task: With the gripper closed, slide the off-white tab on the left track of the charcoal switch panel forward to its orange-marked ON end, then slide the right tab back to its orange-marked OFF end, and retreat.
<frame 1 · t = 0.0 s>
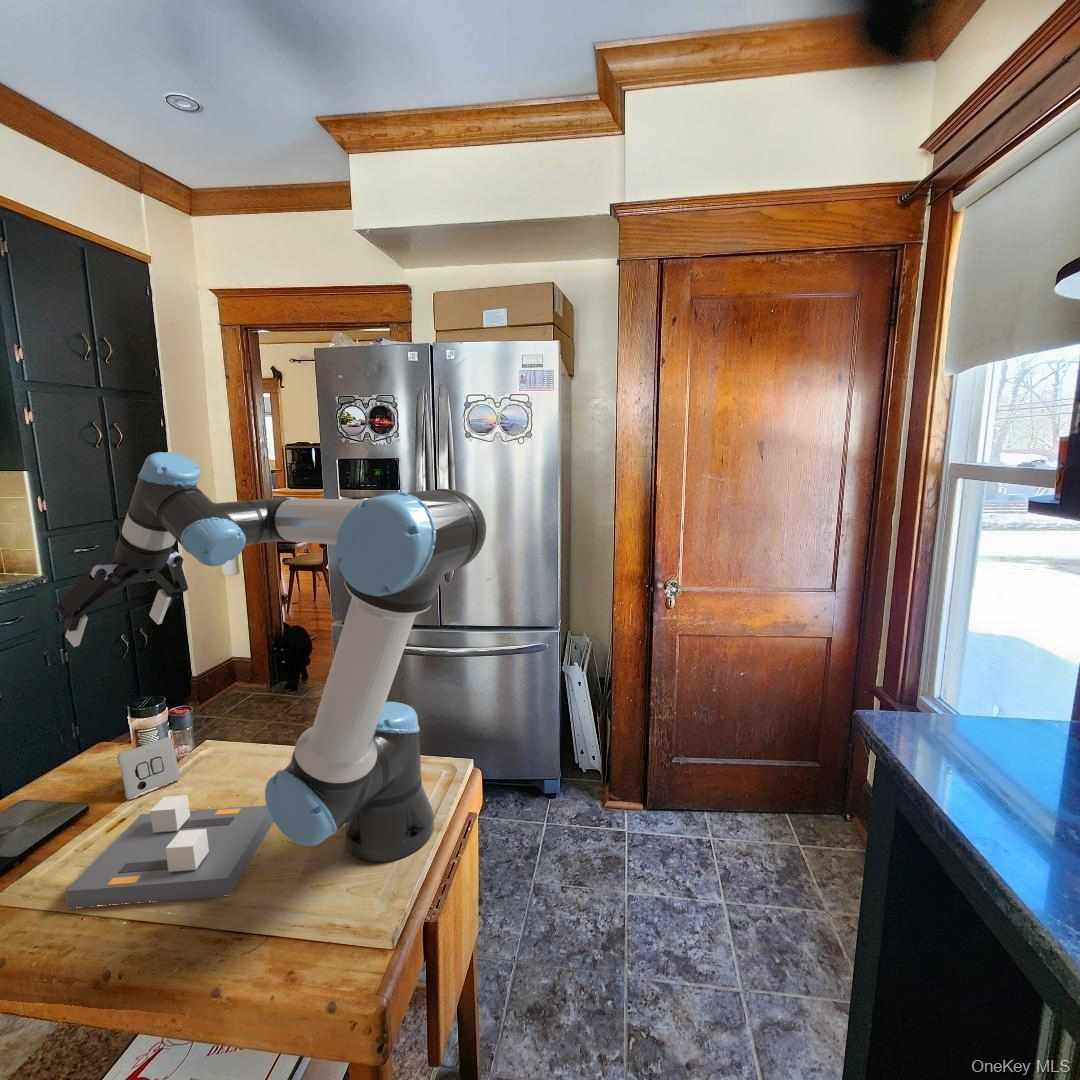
hand: (116, 629, 100), 36 cm above the table, tool tilted 35°, fingers open, 13 cm apart
tab right: (170, 813, 96), point 5 cm above the table, slide at 8.0 cm
electrical switch: (149, 788, 113), on the table
tab left: (187, 849, 87), point 5 cm above the table, slide at 0.0 cm
switch panel: (182, 859, 92), on the table
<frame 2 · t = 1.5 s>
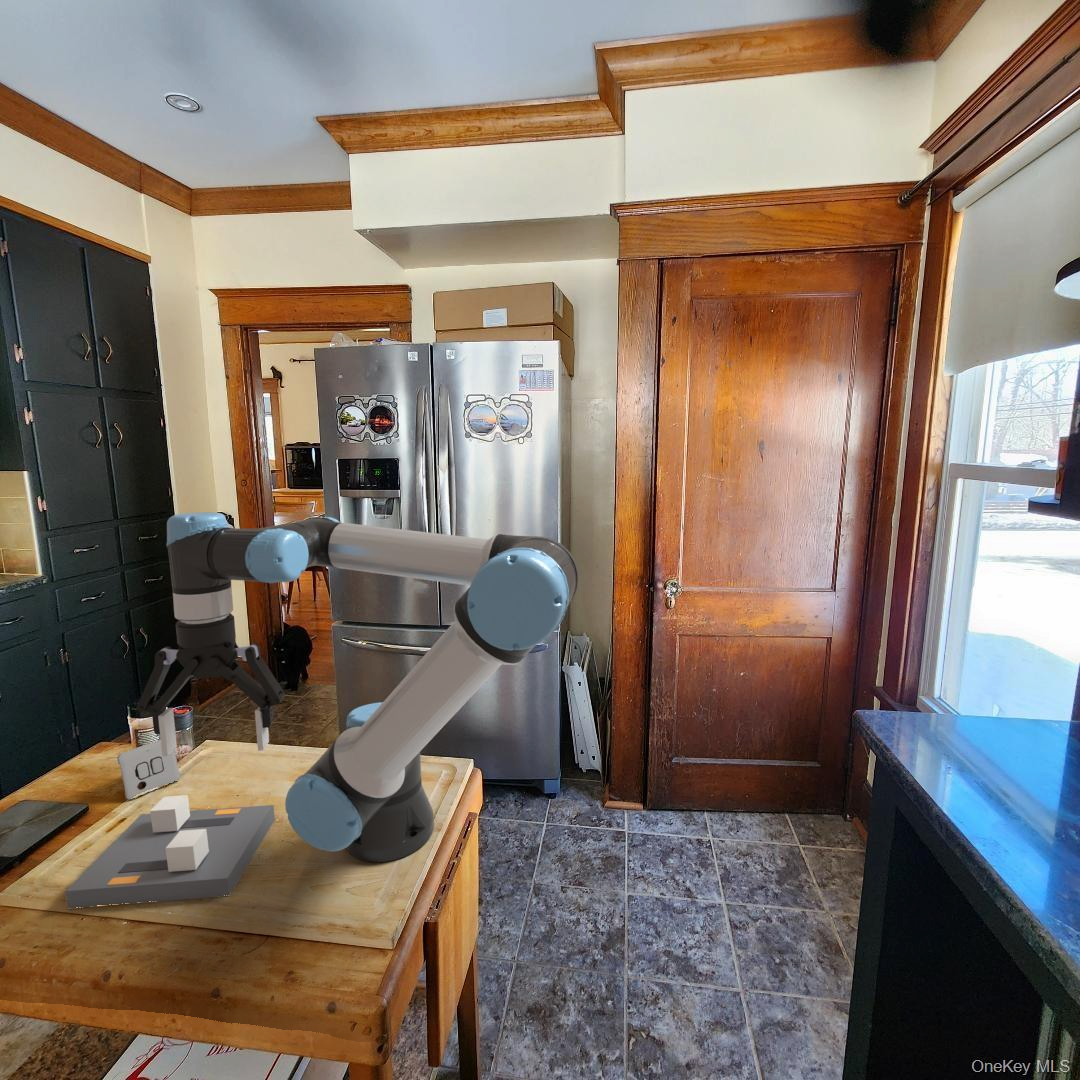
hand: (217, 749, 86), 21 cm above the table, tool pointing down, fingers open, 13 cm apart
nothing on the table moved.
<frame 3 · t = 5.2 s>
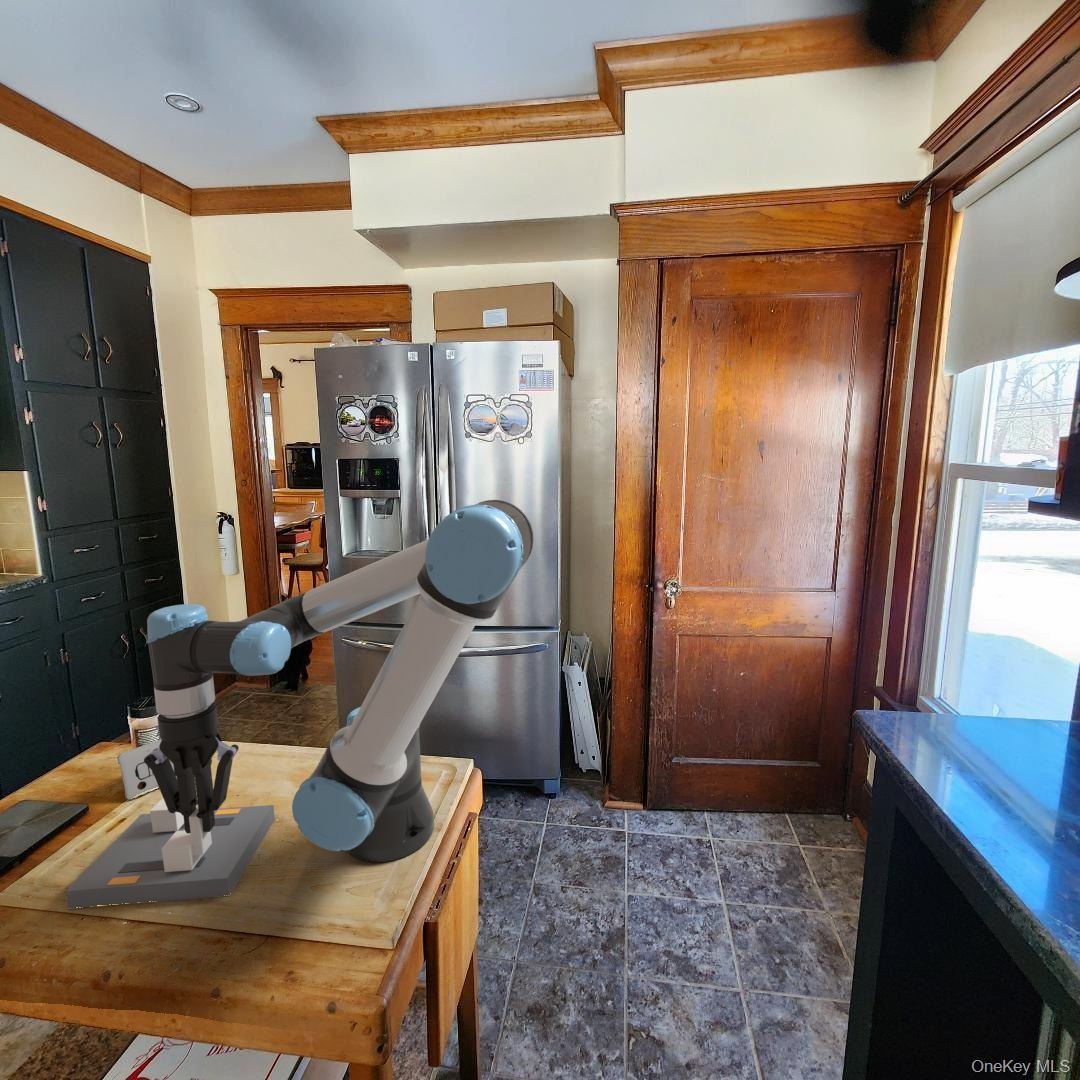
hand: (202, 849, 87), 5 cm above the table, tool pointing down, fingers closed
tab left: (184, 850, 87), point 5 cm above the table, slide at 0.6 cm, touching gripper
everything else where it was.
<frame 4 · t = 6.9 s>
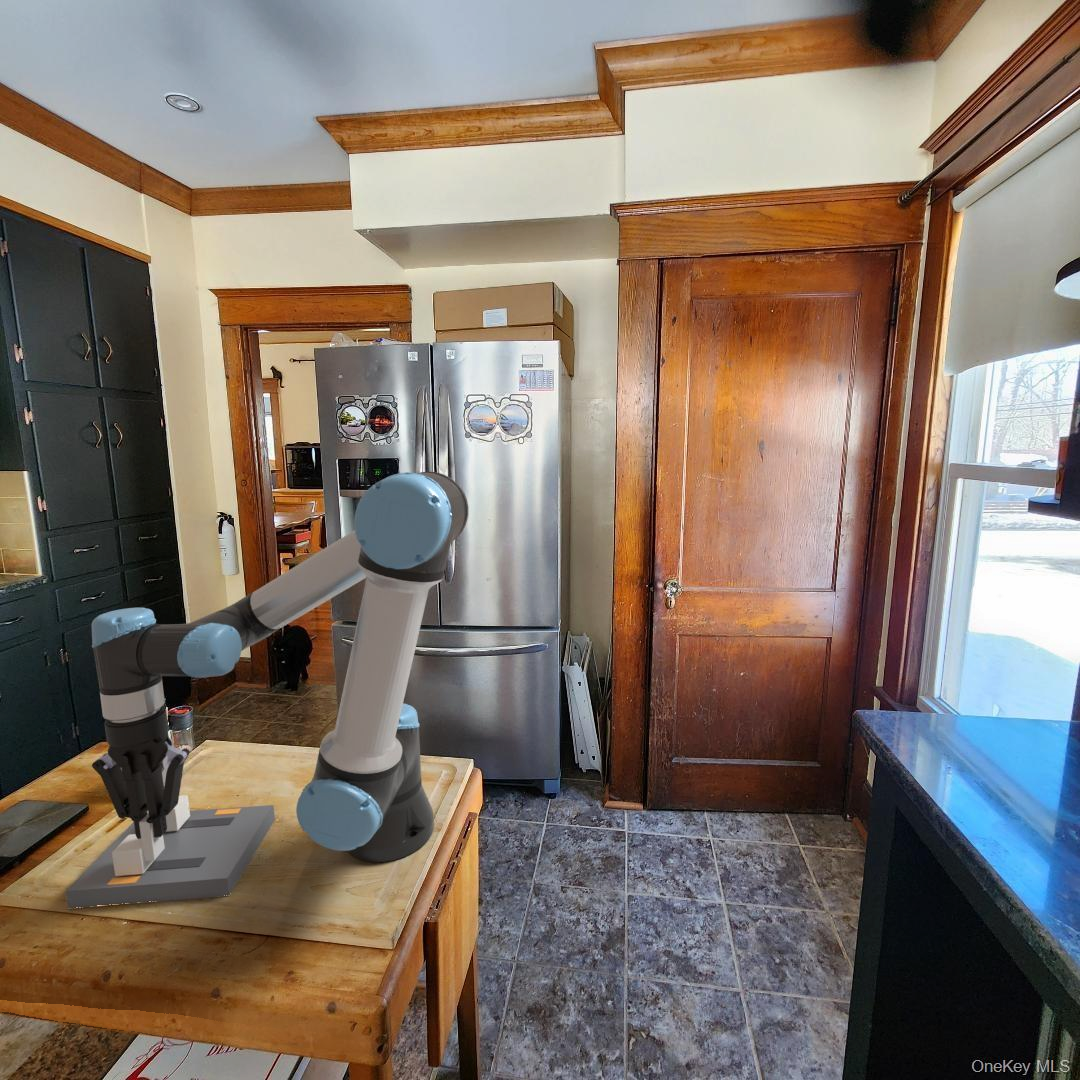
hand: (154, 854, 86), 5 cm above the table, tool pointing down, fingers closed
tab left: (135, 853, 86), point 5 cm above the table, slide at 7.7 cm, touching gripper
everything else where it was.
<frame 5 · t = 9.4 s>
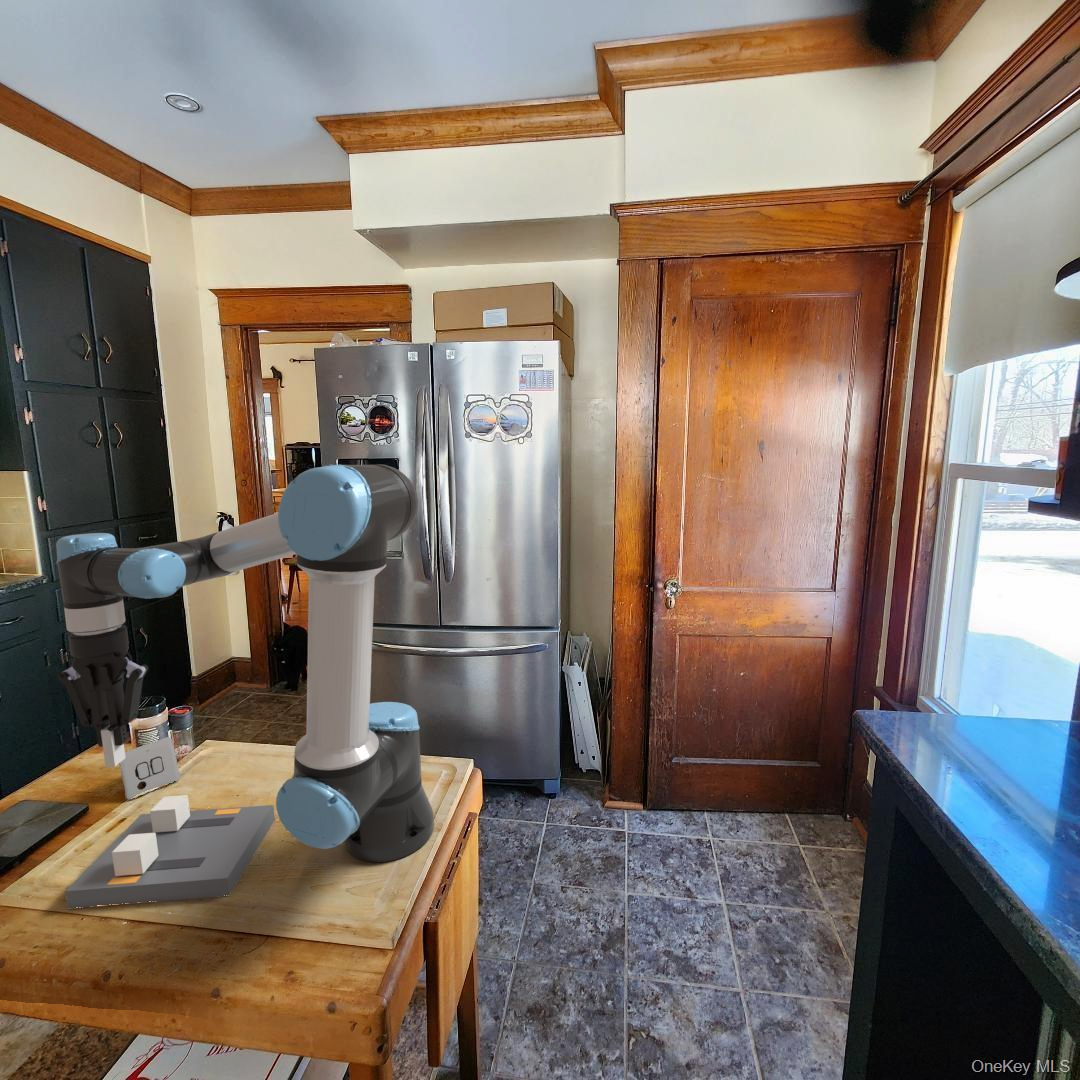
hand: (115, 762, 94), 15 cm above the table, tool pointing down, fingers closed
tab left: (135, 853, 86), point 5 cm above the table, slide at 7.7 cm
everything else where it was.
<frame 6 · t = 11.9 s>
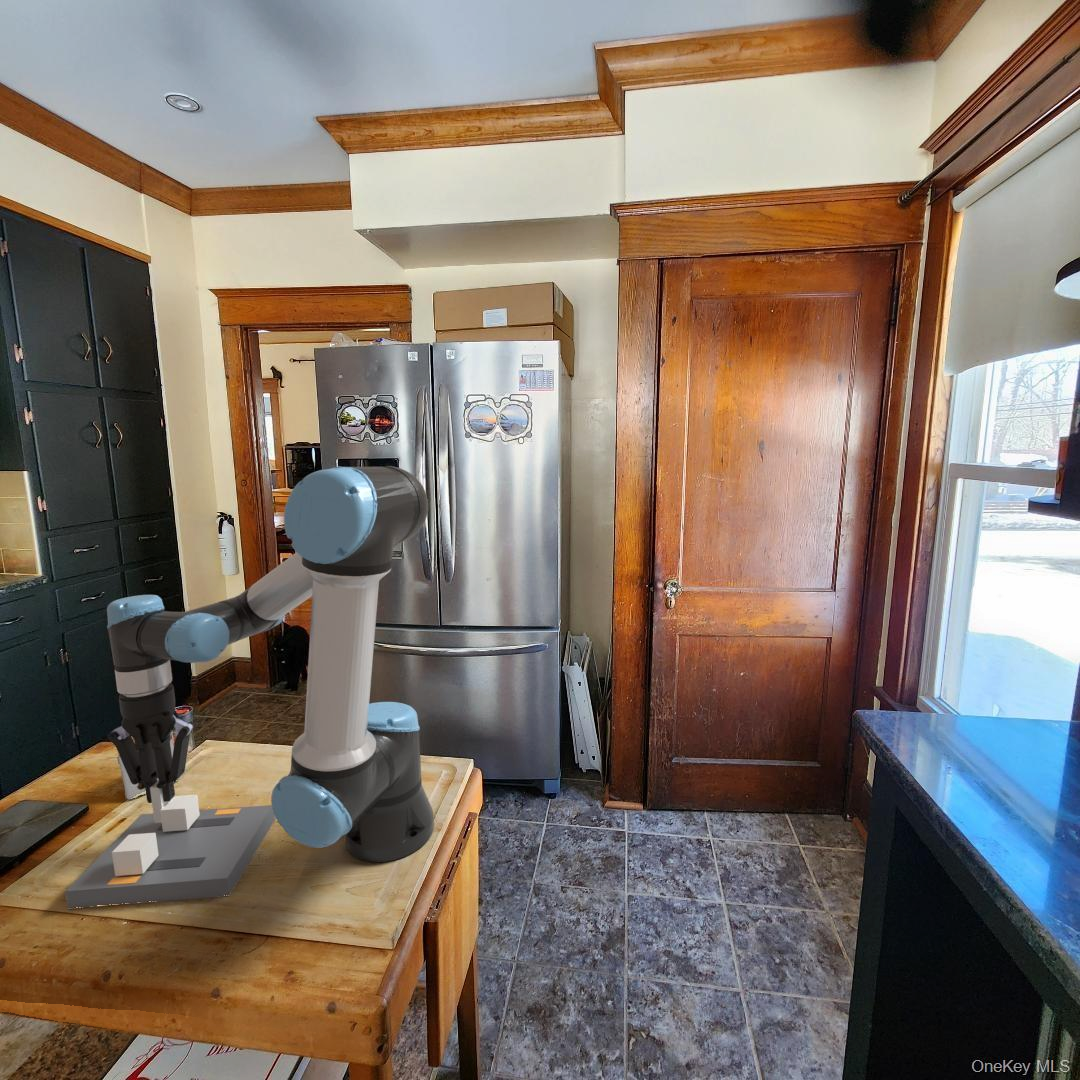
hand: (163, 817, 96), 5 cm above the table, tool pointing down, fingers closed
tab right: (180, 812, 96), point 5 cm above the table, slide at 6.4 cm, touching gripper
everything else where it was.
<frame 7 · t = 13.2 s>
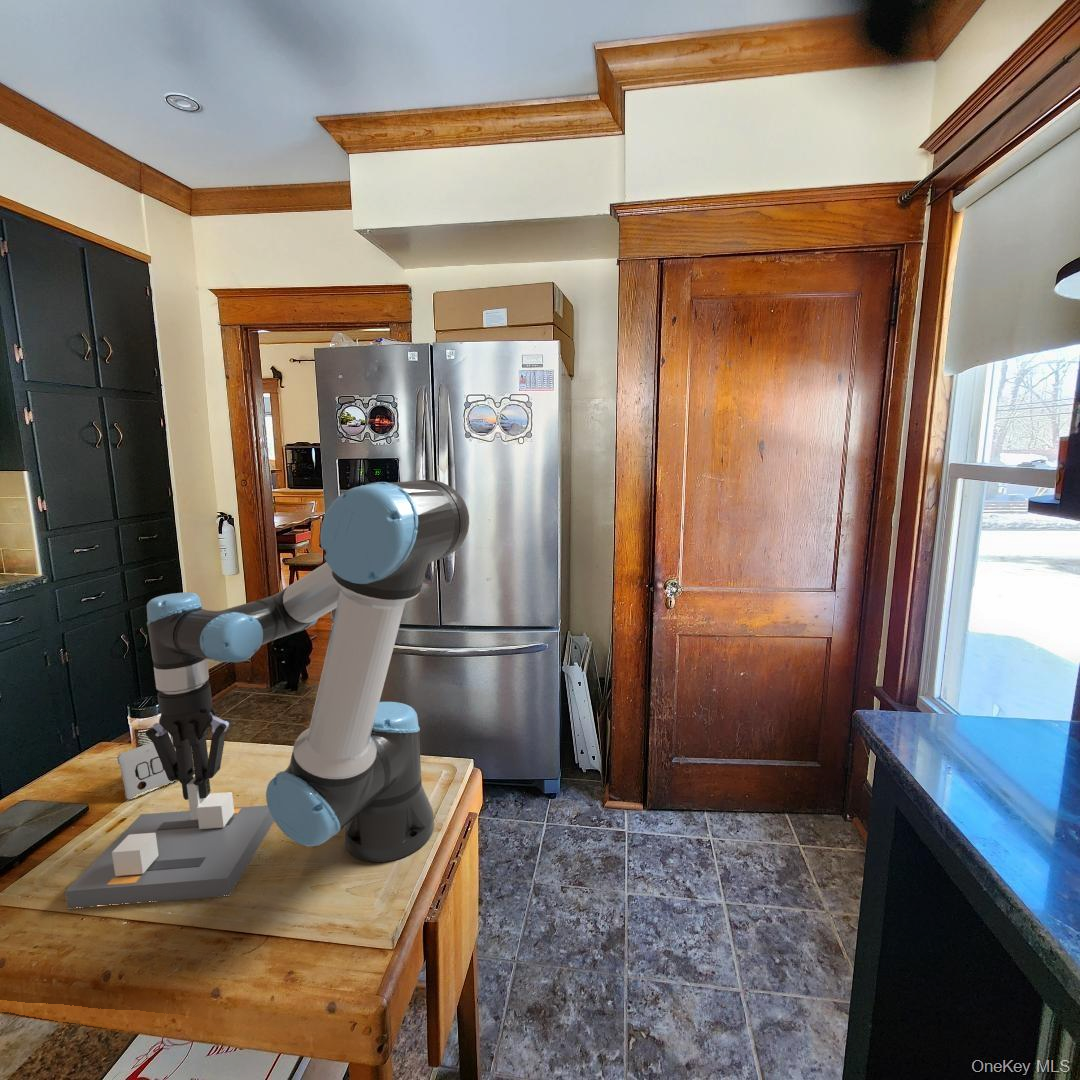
hand: (199, 814, 96), 5 cm above the table, tool pointing down, fingers closed
tab right: (216, 810, 97), point 5 cm above the table, slide at 0.5 cm, touching gripper
everything else where it was.
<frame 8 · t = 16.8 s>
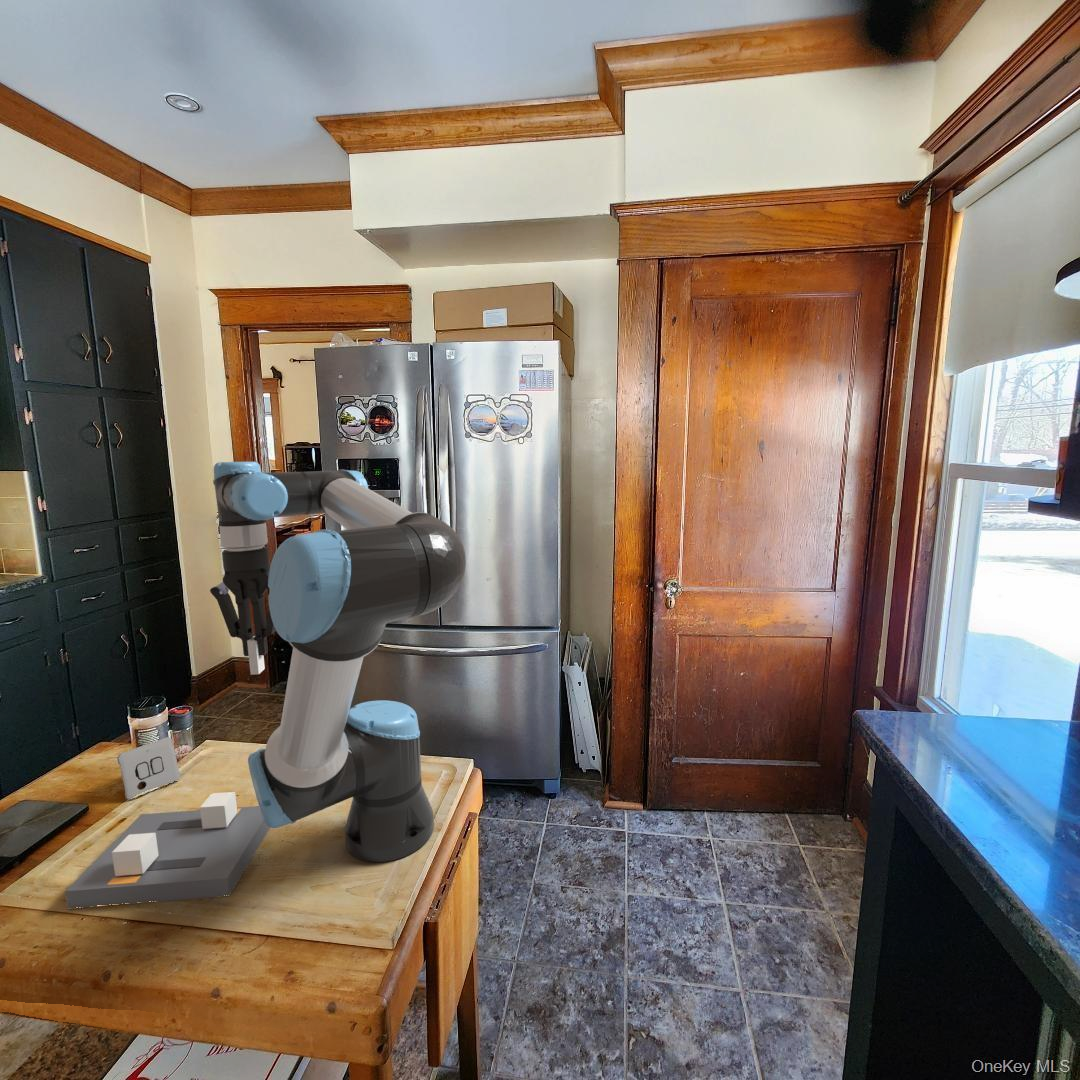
hand: (257, 671, 104), 26 cm above the table, tool pointing down, fingers closed
tab right: (219, 810, 97), point 5 cm above the table, slide at -0.1 cm
everything else where it was.
at the end: tab left slide at 7.7 cm; tab right slide at -0.1 cm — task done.
